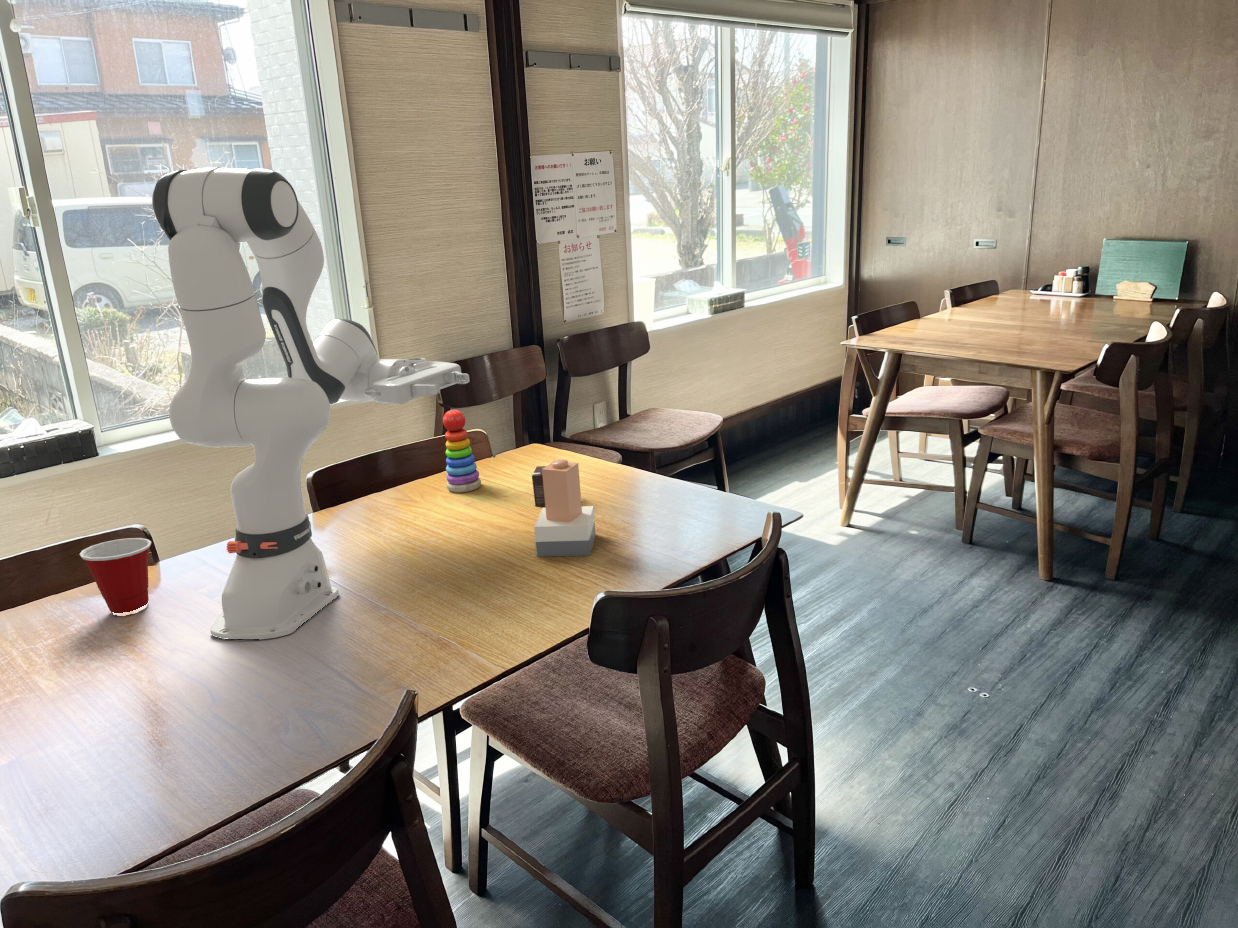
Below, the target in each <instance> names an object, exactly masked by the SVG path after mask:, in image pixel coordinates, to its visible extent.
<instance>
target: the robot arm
mask: <svg viewBox="0 0 1238 928" xmlns="http://www.w3.org/2000/svg"><path fill="white" fill-rule="evenodd" d="M151 198H152V199H151V201H152V209H153V212H154V216H155V218H156V220H157V222H158V224H159V226H160V228H161V229H162V231H163V232H164V234H165V235H166V237H167V239H168V240H169V243H168V249H167V251H168V262H169V263H168V264H169V269H170V276H171V282H172V286H173V289H174V293H175V297H176V301H177V305H178V308H179V310H180V311H179V312H180V315H181V316H182V321H183V324H184V328H185V332H186V336H187V339H188V344H189V347H190V354H191V363H190V370H189V374H188V376H187V379H186V381H185V383H184V384H183V385H182V387H180V388H179V389H178V390H177V391H176V392H175V394H174V396H173V398H172V399H171V402H170V405H169V412H168V414H169V415H168V416H169V421H170V424H171V425H170V426H171V428H172V430H173V432H174V433H175V434H176V435H177V436H178V438H179V440H181V441H182V442H183V443H186V444H190V445H196V446H200V447H208V448H235V447H237V448H238V447H253V449H254V455H255V457H254V458H255V459H254V460H255V461H254V462H253V463H252V464H250V465H248V466H247V467H246V468H244V469H243V470H241V471H239V472H238V473H237V474H236V475H235V477H234V478H233V479H232V482H231V485H230V490H229V492H230V498H231V502H232V503H231V504H232V508H233V512H234V517H235V520H236V521H235V522H236V527H235V536H234V541H233V540H229V541H227V543H226V552H227V553H228V554H236V555H235V556H236V557H235V560H234V561H233V562H234V563H233V564H232V567H231V569H230V571H229V575H228V577H227V580H226V583H225V586H224V588H223V591H222V594H221V607H222V611H221V613H220V614H219V616H218V618H217V619H216V620H215V622H214V624H213V625H212V626H211V629H210V635H211V634H212V635H214V636H217V637H221V638H228V639H259V640H266V639H275V638H280V637H283V636H287V635H290V634H292V633H293V632H295V631H297V630H298V629H299V628H300V627H302V626H303V625H304V624H305V623H306V621H307V620H308V619H309V620H310V619H312V618H313V617H314V616H315V615H316V614H318V613H319V612H320V611H321V610H323V609H324V608H325V607H326V606H328V605H329V604H330V603H331V602H333V601H334V600H335V599H337V598H338V597H339V596H340V592H339V589H338V588H337V587H335V586H333V585H331V581H330V577H329V572H328V569H327V565H326V562H325V559H324V558H325V557H324V555H323V551H322V550H321V549H320V548H319V547H318V546H317V545H316V544H315V543H314V541H313V539H312V536H313V532H312V523H311V521H310V517H309V515H308V514H307V513H306V510H305V504H304V503H305V502H304V496H303V487H302V468H303V462H304V460H305V457H306V454H307V452H308V451H309V449H310V448H311V446H312V445H313V444H314V443H315V442H316V441H317V440H318V439H319V438H320V437H322V435H323V433H325V431H326V429H327V427H328V426H329V423H330V419H331V412H332V411H331V410H332V409H331V405H332V404H337V403H338V402H339V401H340V399H341V400H345V401H349V402H357V403H370V402H375V403H379V404H386V405H387V404H389V405H405V404H406V403H409V401H412V400H415V399H418V398H420V397H425V396H435V395H439V394H440V393H441V390H443V389H445V388H448V387H450V386H453V385H456V384H458V385H466V384H468V383H470V375H469V374H468V373H462V369H461V368H462V367H461V366H460V365H459V364H457V363H455V362H447V361H438V360H436V361H435V360H434V361H433V360H427V359H426V357H416V358H408V359H406V358H405V359H404V358H379V357H378V352H377V349H376V346H375V343H374V342H373V339H372V336H371V334H370V333H369V331H368V330H367V329H366V327H364V326H363V325H362V324H360V323H359V322H357V321H354V320H351V319H348V318H333V319H330V320H329V321H328V322H327V323H326V324H325V325H324V327H323V328H321V330H320V331H319V333H318V334H317V336H316V337H315V339H314V340H312V337H311V334H310V331H309V329H308V326H307V325H308V324H307V312H308V306H309V303H310V301H311V297H312V295H313V292H314V290H315V288H316V286H317V283H318V281H319V279H320V276H321V275H322V272H323V268H324V264H325V257H324V256H325V255H324V250H323V246H322V243H321V239H320V237H319V235H318V233H317V231H316V229H315V227H314V225H313V224H312V222H311V219H310V217H309V216H308V214H307V213H306V211H305V209H304V207H303V206H302V204H301V203H300V202H299V200H298V197H297V194H296V191H295V189H294V187H293V186H292V184H291V183H290V182H289V181H288V180H287V179H286V178H285V176H283V175H282V174H281V173H279V172H278V171H277V172H276V171H273V170H271V169H267V168H259V167H257V168H253V169H247V168H233V167H230V168H229V167H221V166H214V167H203V168H197V169H189V170H188V169H180V170H175V171H172V172H170V173H166V174H164V175H162V176H161V177H159V178H158V179H157V182H156V183H155V185H154V189H153V192H152V197H151ZM242 242H247V244H248V247H249V248H250V250H251V251H252V254H253V256H254V259H255V260H256V264H257V266H258V270H259V274H260V279H261V288H262V297H261V298H262V301H261V302H262V305H263V309H264V312H265V315H266V318H267V321H268V323H269V325H270V328H271V331H272V333H273V336H274V338H275V341H276V343H277V345H278V348H279V350H280V353H281V356H282V358H283V360H284V363H285V367H286V371H287V377H285V376H284V377H267V378H247V377H246V376H245V374H244V371H243V364H244V363H247V362H248V361H250V360H251V359H252V358H254V357H255V356H256V355H258V354H259V352H260V351H262V348H263V347H264V344H265V342H266V337H267V336H266V329H265V325H264V321H263V318H262V314H261V312H260V307H259V304H258V301H257V297H256V293H255V290H254V286H253V282H252V280H251V279H252V278H251V277H250V275H249V271H248V268H247V266H246V264H245V261H244V258H243V256H242V254H241V251H240V247H241V243H242ZM338 595H339V596H338ZM337 596H338V597H337ZM333 599H334V600H333ZM332 600H333V601H332ZM328 603H329V604H328ZM327 604H328V605H327ZM325 605H326V606H325ZM324 606H325V607H324ZM323 607H324V608H323ZM322 608H323V609H322ZM320 609H321V610H320ZM319 610H320V611H319ZM318 611H319V612H318ZM317 612H318V613H317ZM315 613H316V614H315ZM314 614H315V615H314ZM313 615H314V616H313ZM312 616H313V617H312ZM311 617H312V618H311ZM309 620H308V621H309ZM308 621H307V622H308ZM304 622H305V623H304ZM303 623H304V624H303ZM302 624H303V625H302ZM301 625H302V626H301ZM299 626H300V627H299ZM298 627H299V628H298ZM297 628H298V629H297ZM296 629H297V630H296Z"/></svg>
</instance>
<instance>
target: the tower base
mask: <svg viewBox="0 0 1238 928" xmlns="http://www.w3.org/2000/svg"><path fill="white" fill-rule="evenodd" d="M533 529H534V539H535V551H536V557H538V558H539V557H541V558H542V557H543V558H544V557H545V558H546V557H571V556H572V557H576V556H577V557H578V556H591V553H592V550H593V546H594V541H595V539H596V535H597V534H596V521H595V508H594V505H591V506H590V505H586V506H585V505H583V506H582V513H581V514H580V515H579V516H578V517H576V518H575V519H574V520H572V521H571V522H563V521H554V520H547V518H546V508H545V507H542V509H541V511H540V513H539V515H538V517H537V519H536V521H535V524H534V528H533Z"/></svg>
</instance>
